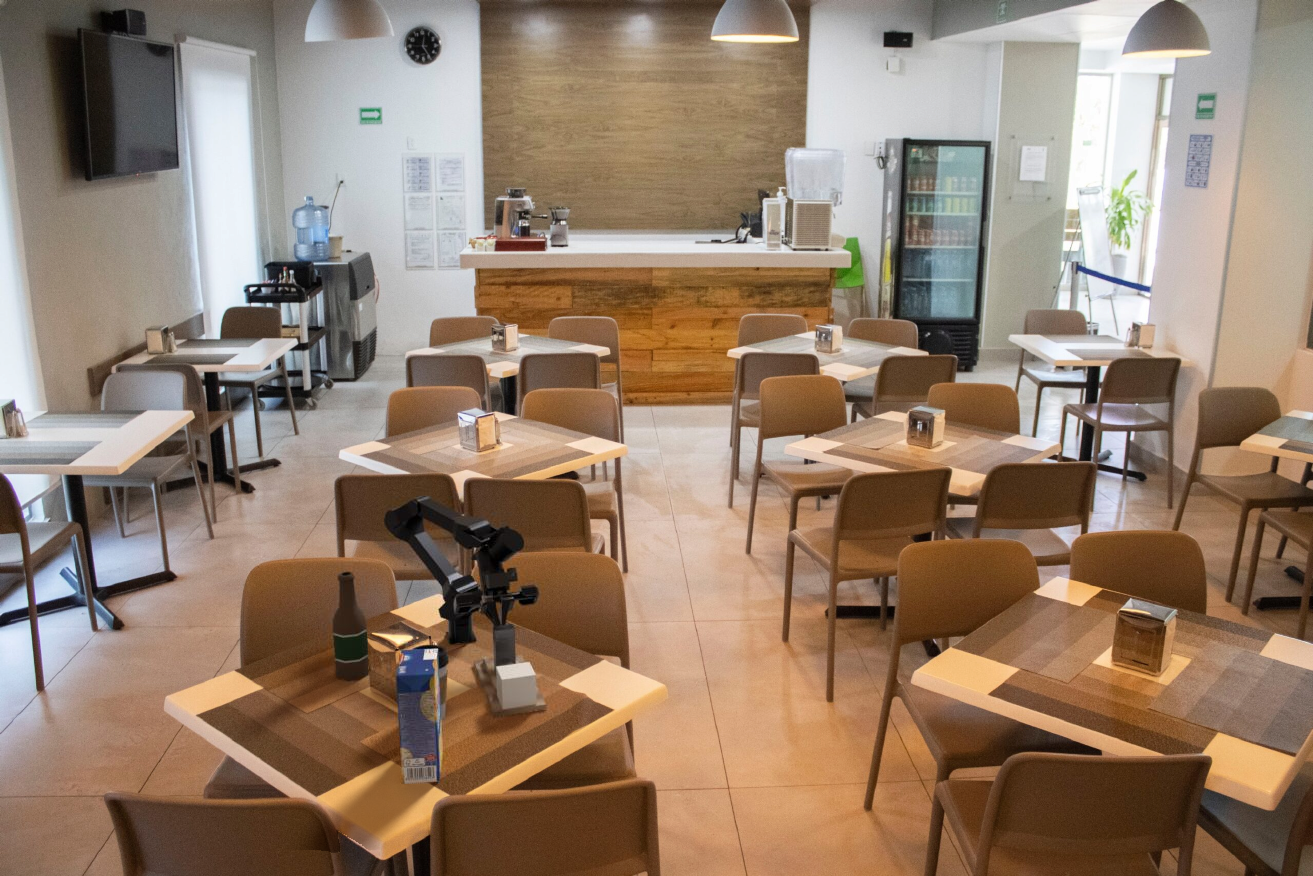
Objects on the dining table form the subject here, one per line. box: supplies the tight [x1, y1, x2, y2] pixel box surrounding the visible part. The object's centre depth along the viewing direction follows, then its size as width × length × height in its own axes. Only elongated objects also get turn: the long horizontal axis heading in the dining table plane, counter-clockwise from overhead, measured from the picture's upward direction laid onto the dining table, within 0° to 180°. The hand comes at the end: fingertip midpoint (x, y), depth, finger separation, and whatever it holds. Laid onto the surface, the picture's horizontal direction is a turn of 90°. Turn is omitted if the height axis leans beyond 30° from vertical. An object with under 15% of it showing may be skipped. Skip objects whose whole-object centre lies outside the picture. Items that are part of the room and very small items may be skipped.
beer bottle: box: [332, 571, 370, 682], centre depth 246 cm, size 8×8×24 cm
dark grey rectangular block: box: [492, 623, 517, 675], centre depth 242 cm, size 10×4×11 cm, turn 19°
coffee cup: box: [411, 644, 450, 721], centre depth 229 cm, size 8×8×15 cm
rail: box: [473, 654, 547, 718], centre depth 243 cm, size 25×11×3 cm, turn 19°
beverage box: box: [395, 648, 444, 785], centre depth 209 cm, size 7×11×22 cm, turn 7°
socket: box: [496, 661, 537, 709], centre depth 235 cm, size 6×7×7 cm
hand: (502, 634), depth 247 cm, fingers closed
